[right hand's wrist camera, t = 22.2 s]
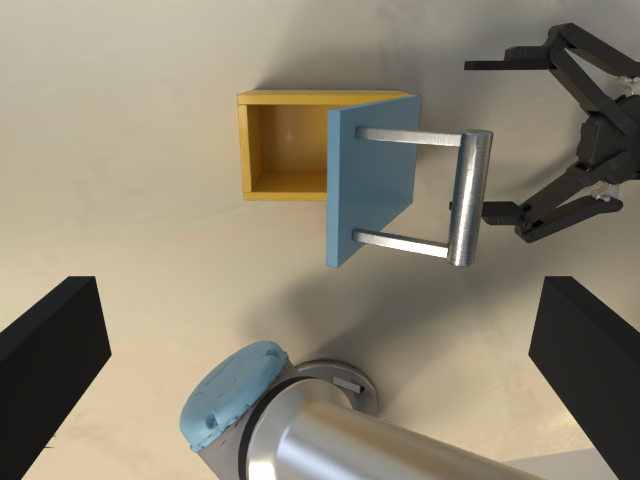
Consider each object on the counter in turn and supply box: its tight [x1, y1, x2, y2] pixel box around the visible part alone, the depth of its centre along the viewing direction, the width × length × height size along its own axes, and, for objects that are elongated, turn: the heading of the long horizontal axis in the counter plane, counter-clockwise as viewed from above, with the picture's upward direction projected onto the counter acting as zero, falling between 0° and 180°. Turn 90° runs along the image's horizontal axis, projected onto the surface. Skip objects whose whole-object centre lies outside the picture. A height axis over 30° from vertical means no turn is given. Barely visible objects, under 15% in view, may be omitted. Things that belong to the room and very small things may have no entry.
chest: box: [237, 89, 413, 201], centre depth 44 cm, size 16×10×10 cm, turn 90°
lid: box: [327, 95, 493, 268], centre depth 30 cm, size 16×10×8 cm
